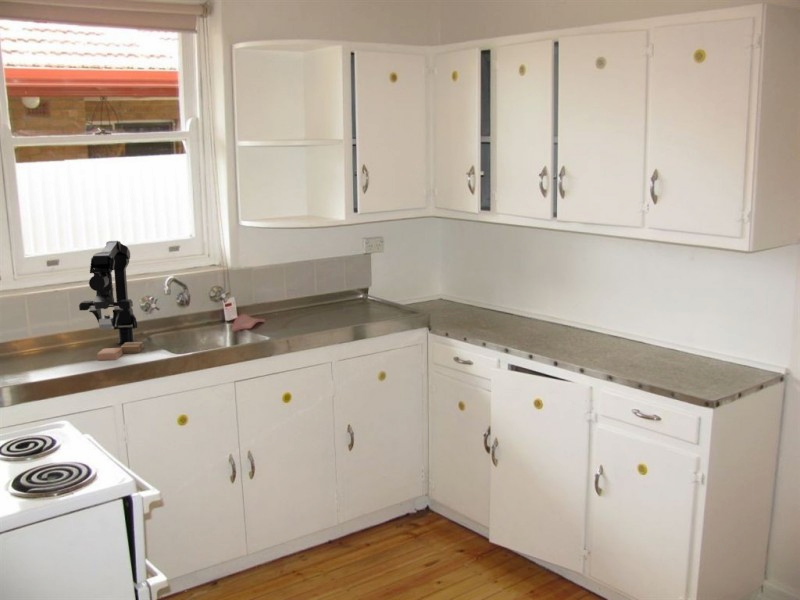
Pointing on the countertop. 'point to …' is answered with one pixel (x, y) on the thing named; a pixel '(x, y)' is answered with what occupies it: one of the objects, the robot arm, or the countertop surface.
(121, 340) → the robot arm
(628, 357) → the countertop surface
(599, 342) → the countertop surface
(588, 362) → the countertop surface
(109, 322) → the housing
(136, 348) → the stand
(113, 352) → the stand
